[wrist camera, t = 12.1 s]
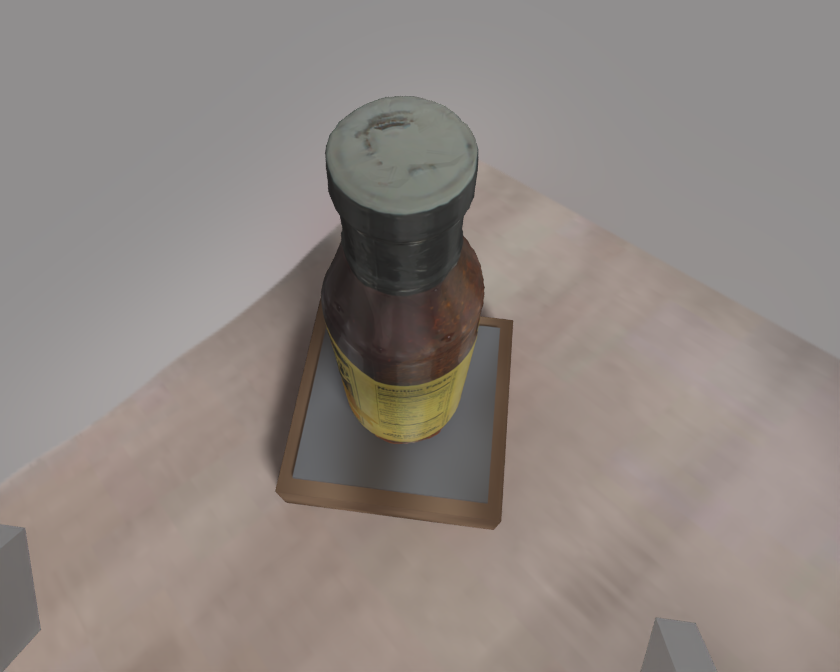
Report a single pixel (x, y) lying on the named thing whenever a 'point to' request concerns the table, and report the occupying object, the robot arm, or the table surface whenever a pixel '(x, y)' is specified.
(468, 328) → the sauce bottle
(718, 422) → the table surface
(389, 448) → the pedestal
